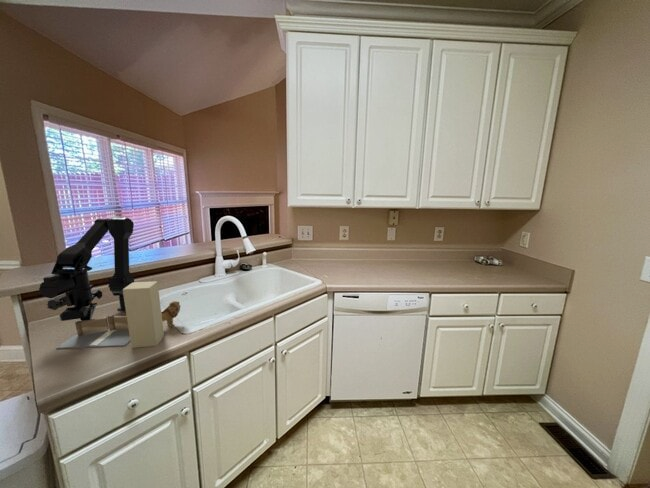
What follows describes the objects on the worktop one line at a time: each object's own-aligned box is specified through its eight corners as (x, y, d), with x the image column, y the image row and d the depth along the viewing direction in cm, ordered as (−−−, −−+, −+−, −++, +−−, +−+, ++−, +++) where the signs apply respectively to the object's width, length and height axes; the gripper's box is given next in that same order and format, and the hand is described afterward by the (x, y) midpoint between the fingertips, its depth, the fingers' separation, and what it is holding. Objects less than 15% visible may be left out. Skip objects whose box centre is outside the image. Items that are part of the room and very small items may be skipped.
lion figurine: (179, 318, 110) (176, 298, 108) (184, 323, 106) (182, 302, 104) (137, 333, 99) (133, 310, 97) (141, 338, 95) (137, 315, 93)
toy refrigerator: (165, 334, 98) (158, 280, 93) (157, 346, 91) (148, 288, 86) (141, 336, 97) (133, 281, 92) (131, 348, 90) (121, 289, 85)
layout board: (97, 320, 107) (97, 319, 107) (154, 319, 109) (154, 317, 109) (56, 348, 89) (56, 347, 89) (125, 345, 91) (124, 344, 91)
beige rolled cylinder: (78, 333, 97) (76, 321, 96) (109, 328, 100) (107, 316, 99) (76, 335, 95) (74, 323, 94) (107, 330, 99) (105, 318, 98)
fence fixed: (112, 328, 101) (109, 314, 100) (143, 327, 102) (141, 313, 101) (108, 331, 99) (105, 317, 98) (140, 329, 100) (138, 316, 99)
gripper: (62, 279, 100) (70, 317, 104) (33, 300, 83) (44, 344, 87) (99, 275, 104) (106, 312, 108) (78, 295, 88) (87, 337, 91)
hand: (87, 325), depth 99 cm, fingers closed
